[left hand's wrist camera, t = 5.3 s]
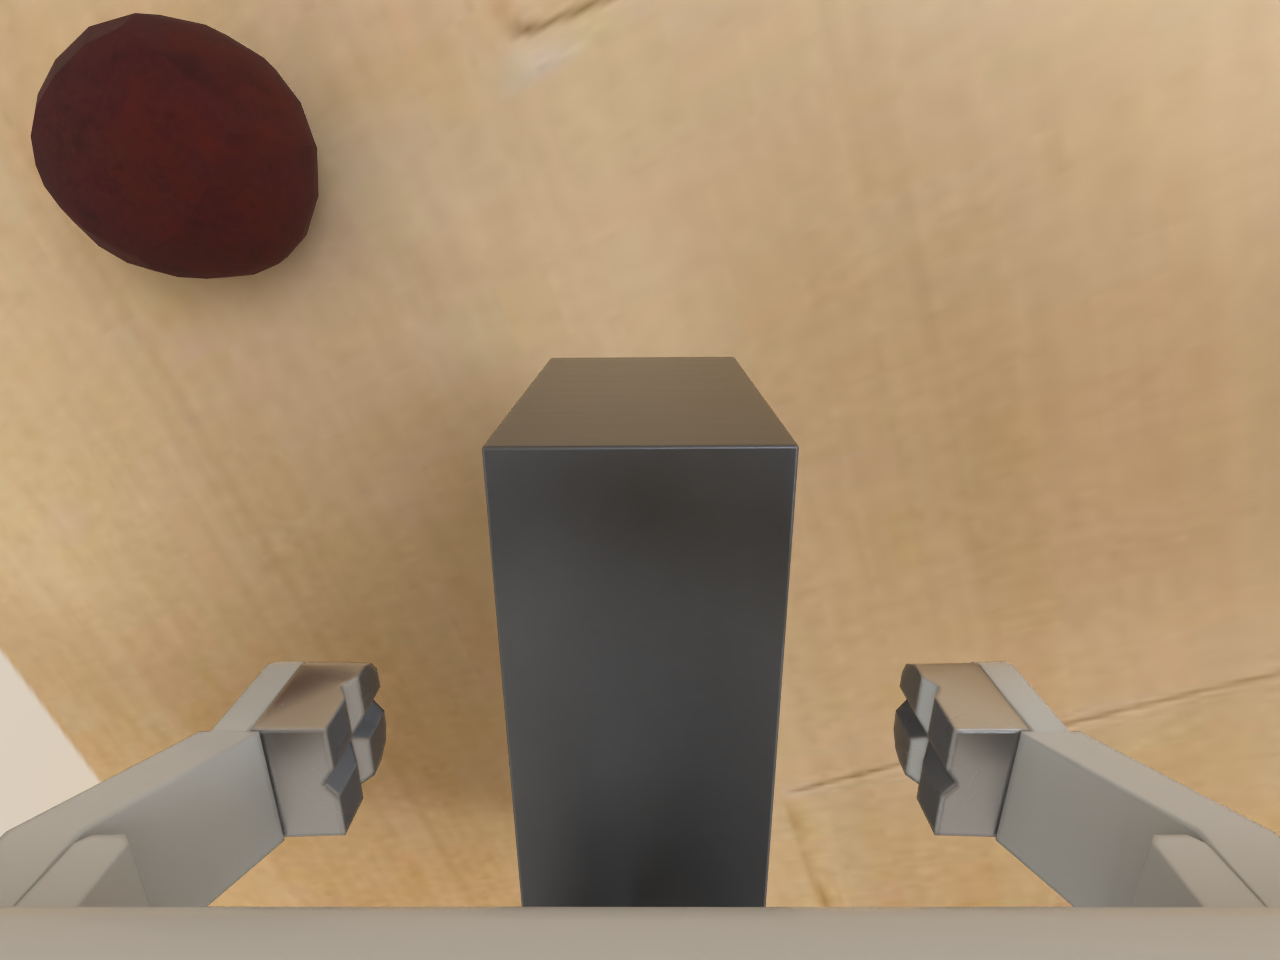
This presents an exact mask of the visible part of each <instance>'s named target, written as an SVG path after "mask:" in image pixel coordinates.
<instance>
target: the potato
mask: <svg viewBox="0 0 1280 960" xmlns="http://www.w3.org/2000/svg"><path fill="white" fill-rule="evenodd" d="M31 140H32V146H33V152H34V158H35V164H36V167H37V169H38V172H39V174H40V177H41V179H42V182H43V184H44V186H45V188H46V189H47V190H48V192H49V193H50V194H51V196H52V197H53V198H54V200H55V201H56V202H57V204H58V205H59V206H60V208H61V209H62V210H63V211H64V212H65V213H66V214H67V215H68V216H69V217H70V218H71V219H72V221H73V222H74V223H76V224H77V225H78V226H79V227H80V228H81V229H82V230H83V231H84V232H85V233H86V234H87V235H88V236H89V237H90V238H91V239H92V240H93V241H94V242H95V243H96V244H97V245H98V246H100V247H102V248H103V249H105V250H107V251H108V252H110V253H112V254H113V255H115V256H117V257H119V258H120V259H122V260H124V261H125V262H127V263H130V264H134V265H137V266H140V267H144V268H147V269H151V270H154V271H158V272H161V273H165V274H169V275H173V276H176V277H188V278H205V279H208V278H223V277H234V276H243V275H253V274H256V273H258V272H261V271H263V270H265V269H267V268H270V267H272V266H274V265H276V264H279V263H280V262H281V261H283V260H284V259H285V258H287V257H288V256H289V254H290V253H291V252H292V251H293V250H294V249H295V247H296V246H297V245H298V244H299V243H300V242H301V240H302V239H303V238H304V237H305V236H306V234H307V231H308V228H309V225H310V221H311V218H312V215H313V211H314V208H315V205H316V201H317V198H318V171H317V147H316V144H315V142H314V139H313V136H312V133H311V130H310V128H309V125H308V122H307V119H306V116H305V114H304V111H303V108H302V105H301V103H300V101H299V100H298V99H297V97H296V96H295V95H294V93H293V92H292V91H291V89H290V88H289V87H288V85H287V84H286V83H285V81H284V80H283V79H282V78H281V76H280V75H279V74H278V72H277V71H276V70H275V69H274V68H273V67H272V66H271V65H270V64H269V63H268V62H267V61H266V60H265V59H264V58H263V57H261V56H260V55H258V54H257V53H255V52H253V51H252V50H250V49H248V48H247V47H245V46H243V45H242V44H240V43H239V42H237V41H235V40H234V39H232V38H230V37H229V36H227V35H225V34H223V33H221V32H219V31H217V30H215V29H213V28H211V27H209V26H207V25H204V24H199V23H195V22H190V21H185V20H181V19H176V18H171V17H167V16H162V15H153V14H139V13H134V14H131V15H127V16H124V17H120V18H117V19H114V20H110V21H107V22H103V23H100V24H97V25H93V26H90V27H88V28H87V29H86V30H85V31H84V32H83V33H82V34H81V35H80V36H79V37H78V38H77V39H76V40H75V41H74V42H73V43H72V44H71V45H70V46H69V47H68V48H67V49H66V50H65V51H64V52H63V53H62V54H61V55H60V56H59V57H58V58H57V59H56V60H55V62H54V64H53V66H52V67H51V69H50V71H49V73H48V75H47V77H46V79H45V81H44V83H43V85H42V87H41V89H40V91H39V93H38V97H37V103H36V109H35V115H34V121H33V126H32V132H31Z"/></svg>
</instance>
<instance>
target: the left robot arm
mask: <svg viewBox="0 0 1280 960" xmlns="http://www.w3.org/2000/svg"><path fill="white" fill-rule="evenodd" d="M379 688H380V683H379V677H378V672H377V668H376V667H375V666H374V665H373V664H372V663H347V662H274V663H271V664H268V665H267V666H266V667H265V668H264V669H263V670H262V672H261V673H260V674H259V675H258V676H257V677H256V679H255V680H254V681H253V682H252V683H251V684H250V686H249V687H248V688H247V689H246V690H245V691H244V693H243V694H242V695H241V696H240V697H239V698H238V700H237V701H236V702H235V703H234V704H233V705H232V707H231V708H230V709H229V710H228V711H227V712H226V714H225V715H224V716H223V717H222V718H221V720H220V721H219V722H218V723H217V724H216V725H215V727H214V728H213V729H212V730H211V731H200V732H198V733H196V734H194V735H192V736H190V737H188V738H186V739H184V740H182V741H180V742H178V743H176V744H175V745H173V746H171V747H169V748H167V749H165V750H163V751H161V752H159V753H157V754H155V755H153V756H151V757H149V758H148V759H146V760H144V761H142V762H140V763H138V764H136V765H134V766H132V767H130V768H128V769H126V770H124V771H122V772H120V773H119V774H117V775H115V776H113V777H111V778H109V779H107V780H105V781H103V782H101V783H99V784H97V785H95V786H93V787H92V788H90V789H88V790H86V791H84V792H82V793H80V794H78V795H76V796H74V797H72V798H70V799H68V800H66V801H65V802H63V803H61V804H59V805H57V806H55V807H53V808H51V809H49V810H47V811H45V812H43V813H41V814H39V815H37V816H35V817H34V818H32V819H30V820H28V821H26V822H24V823H22V824H20V825H18V826H16V827H14V828H12V829H10V830H9V831H7V832H5V833H4V834H3V835H2V836H1V837H0V960H1280V837H1279V836H1278V835H1277V834H1276V833H1275V832H1273V831H1271V830H1269V829H1267V828H1265V827H1263V826H1261V825H1259V824H1258V823H1256V822H1254V821H1252V820H1250V819H1248V818H1246V817H1244V816H1242V815H1240V814H1238V813H1236V812H1234V811H1232V810H1231V809H1229V808H1227V807H1225V806H1223V805H1221V804H1219V803H1217V802H1215V801H1213V800H1211V799H1209V798H1207V797H1206V796H1204V795H1202V794H1200V793H1198V792H1196V791H1194V790H1192V789H1190V788H1188V787H1186V786H1184V785H1182V784H1180V783H1179V782H1177V781H1175V780H1173V779H1171V778H1169V777H1167V776H1165V775H1163V774H1161V773H1159V772H1157V771H1155V770H1154V769H1152V768H1150V767H1148V766H1146V765H1144V764H1142V763H1140V762H1138V761H1136V760H1134V759H1132V758H1130V757H1128V756H1127V755H1125V754H1123V753H1121V752H1119V751H1117V750H1115V749H1113V748H1111V747H1109V746H1107V745H1105V744H1103V743H1102V742H1100V741H1098V740H1096V739H1094V738H1092V737H1090V736H1088V735H1086V734H1084V733H1082V732H1080V731H1069V730H1068V729H1067V728H1066V727H1065V725H1064V724H1063V723H1062V722H1061V721H1060V720H1059V718H1058V717H1057V716H1056V715H1055V714H1054V713H1053V711H1052V710H1051V709H1050V708H1049V707H1048V706H1047V704H1046V703H1045V702H1044V701H1043V700H1042V699H1041V697H1040V696H1039V695H1038V694H1037V693H1036V691H1035V690H1034V689H1033V688H1032V687H1031V686H1030V684H1029V683H1028V682H1027V681H1026V680H1025V679H1024V677H1023V676H1022V675H1021V674H1020V673H1019V672H1018V670H1017V669H1016V668H1015V667H1014V666H1013V665H1012V664H1010V663H1008V662H1006V661H993V662H972V663H931V664H906V666H905V668H904V670H903V672H902V676H901V682H900V688H901V690H902V691H903V693H904V695H905V697H906V699H907V700H906V701H905V702H904V703H903V704H902V705H901V706H900V707H899V708H898V709H897V710H896V714H895V723H894V737H895V748H896V751H897V755H898V758H899V762H900V764H901V766H902V768H903V770H904V773H905V775H907V776H908V777H910V778H911V779H912V780H914V781H915V782H917V783H918V784H919V787H918V793H917V800H918V802H919V804H920V806H921V808H922V810H923V812H924V814H925V816H926V818H927V820H928V822H929V824H930V826H931V828H932V830H933V832H934V834H935V835H948V836H984V837H996V841H998V842H999V843H1000V844H1001V845H1002V846H1003V847H1005V848H1006V849H1007V850H1008V851H1009V852H1010V853H1012V854H1013V855H1014V856H1015V857H1016V858H1017V859H1019V860H1020V861H1021V862H1022V863H1023V864H1024V865H1026V866H1027V867H1028V868H1029V869H1030V870H1031V871H1033V872H1034V873H1035V874H1036V875H1037V876H1038V877H1040V878H1041V879H1042V880H1043V881H1044V882H1045V883H1047V884H1048V885H1049V886H1050V887H1051V888H1052V889H1054V890H1055V891H1056V892H1057V893H1058V894H1059V895H1061V896H1062V897H1063V898H1064V899H1065V900H1066V901H1067V902H1069V903H1070V904H1071V905H1072V906H1073V907H207V906H208V905H209V904H210V903H212V902H213V901H214V900H215V899H216V898H217V897H219V896H220V895H221V894H222V893H223V892H224V891H226V890H227V889H228V888H229V887H230V886H231V885H233V884H234V883H235V882H236V881H237V880H238V879H240V878H241V877H242V876H243V875H244V874H245V873H247V872H248V871H249V870H250V869H251V868H252V867H254V866H255V865H256V864H257V863H258V862H259V861H261V860H262V859H263V858H264V857H265V856H266V855H268V854H269V853H270V852H271V851H272V850H273V849H275V848H276V847H277V846H278V845H279V844H280V843H282V842H283V841H284V837H296V836H330V835H345V834H346V832H347V830H348V828H349V826H350V824H351V822H352V820H353V818H354V816H355V814H356V812H357V810H358V808H359V806H360V804H361V802H362V800H363V793H362V787H361V784H362V783H363V782H365V781H366V780H368V779H369V778H370V777H372V776H373V775H375V773H376V770H377V768H378V766H379V764H380V762H381V759H382V755H383V750H384V746H385V741H386V721H385V714H384V710H383V709H382V708H381V707H380V706H379V705H378V704H377V703H376V702H375V701H374V700H373V699H374V697H375V695H376V693H377V691H378V690H379Z"/></svg>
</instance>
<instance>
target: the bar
mask: <svg viewBox="0 0 1280 960" xmlns="http://www.w3.org/2000/svg"><path fill="white" fill-rule="evenodd" d="M798 450H799V447H798V445H797V444H796V442H795V441H794V439H793V438H792V437H791V435H790V434H789V433H788V431H787V430H786V428H785V427H784V426H783V424H782V423H781V422H780V420H779V419H778V417H777V416H776V415H775V413H774V412H773V410H772V409H771V408H770V406H769V405H768V404H767V402H766V401H765V399H764V398H763V397H762V395H761V394H760V393H759V391H758V390H757V388H756V387H755V386H754V384H753V383H752V381H751V380H750V379H749V377H748V376H747V375H746V373H745V372H744V370H743V369H742V368H741V366H740V365H739V364H738V362H737V361H736V359H735V358H734V357H655V358H551V359H550V360H549V362H548V363H547V364H546V366H545V367H544V368H543V370H542V371H541V372H540V373H539V375H538V376H537V377H536V379H535V380H534V381H533V383H532V384H531V385H530V386H529V388H528V389H527V390H526V392H525V393H524V394H523V395H522V397H521V398H520V399H519V401H518V402H517V403H516V405H515V406H514V407H513V408H512V410H511V411H510V412H509V414H508V415H507V416H506V418H505V419H504V420H503V421H502V423H501V424H500V425H499V427H498V428H497V429H496V431H495V432H494V433H493V434H492V436H491V437H490V438H489V440H488V441H487V442H486V444H485V445H484V446H483V448H482V454H483V466H484V477H485V489H486V500H487V512H488V523H489V535H490V546H491V558H492V569H493V581H494V592H495V604H496V615H497V626H498V638H499V649H500V661H501V672H502V684H503V695H504V707H505V718H506V730H507V741H508V753H509V764H510V776H511V787H512V799H513V810H514V822H515V833H516V845H517V856H518V868H519V879H520V890H521V902H522V907H766V893H767V879H768V865H769V851H770V837H771V824H772V810H773V796H774V782H775V768H776V754H777V741H778V727H779V713H780V699H781V685H782V671H783V658H784V644H785V630H786V616H787V602H788V588H789V575H790V561H791V547H792V533H793V519H794V505H795V492H796V478H797V464H798Z"/></svg>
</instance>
